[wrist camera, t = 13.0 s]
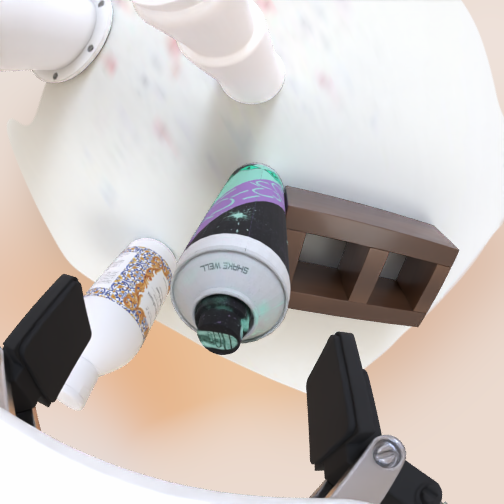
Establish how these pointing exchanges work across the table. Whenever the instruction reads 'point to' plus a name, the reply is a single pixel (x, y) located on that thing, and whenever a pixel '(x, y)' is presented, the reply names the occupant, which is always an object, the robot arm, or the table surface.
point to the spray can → (236, 264)
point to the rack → (364, 260)
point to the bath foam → (120, 314)
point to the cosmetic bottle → (222, 43)
